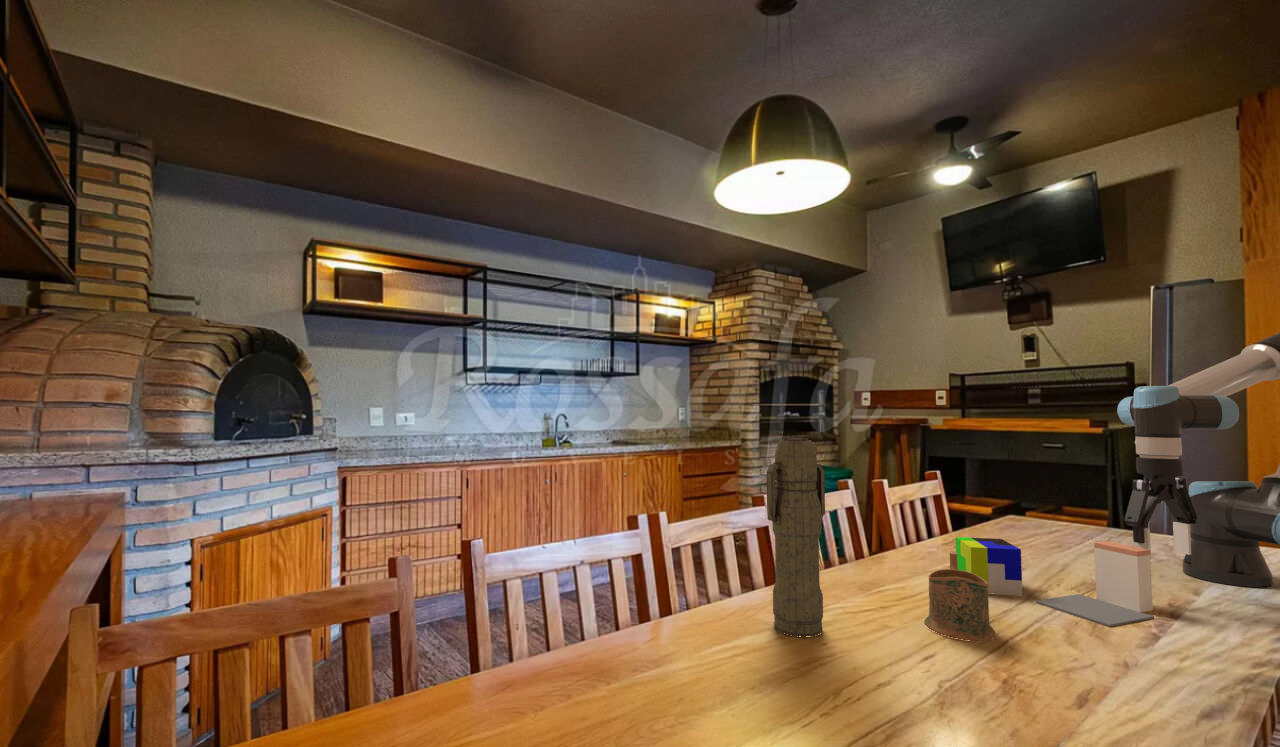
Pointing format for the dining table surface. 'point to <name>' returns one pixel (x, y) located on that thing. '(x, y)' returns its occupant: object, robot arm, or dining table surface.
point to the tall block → (1123, 575)
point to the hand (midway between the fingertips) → (1162, 555)
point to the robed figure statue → (796, 536)
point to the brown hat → (959, 604)
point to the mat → (1095, 610)
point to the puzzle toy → (992, 563)
